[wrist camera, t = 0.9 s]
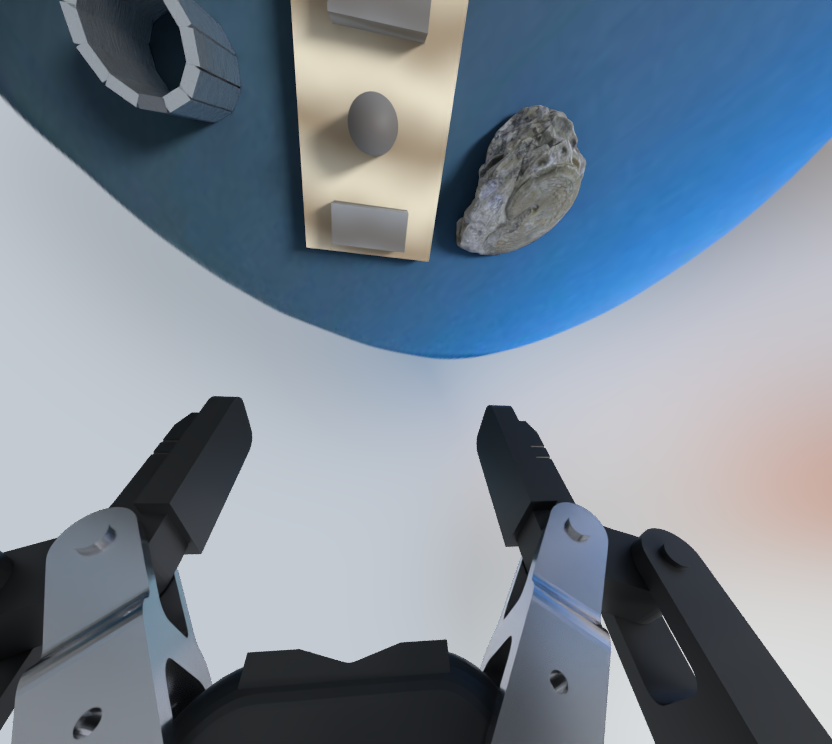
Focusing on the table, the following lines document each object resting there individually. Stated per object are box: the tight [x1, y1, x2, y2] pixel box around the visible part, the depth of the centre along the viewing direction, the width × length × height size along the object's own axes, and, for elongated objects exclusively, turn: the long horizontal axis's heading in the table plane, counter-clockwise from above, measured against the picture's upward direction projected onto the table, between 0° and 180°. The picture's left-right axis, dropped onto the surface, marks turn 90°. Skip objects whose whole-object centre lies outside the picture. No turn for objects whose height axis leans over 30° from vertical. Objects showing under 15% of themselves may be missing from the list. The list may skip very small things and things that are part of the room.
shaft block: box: [291, 0, 468, 262], centre depth 22 cm, size 18×11×6 cm, turn 172°
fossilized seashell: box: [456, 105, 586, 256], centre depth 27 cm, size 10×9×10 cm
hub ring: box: [59, 0, 241, 123], centre depth 19 cm, size 6×6×6 cm
